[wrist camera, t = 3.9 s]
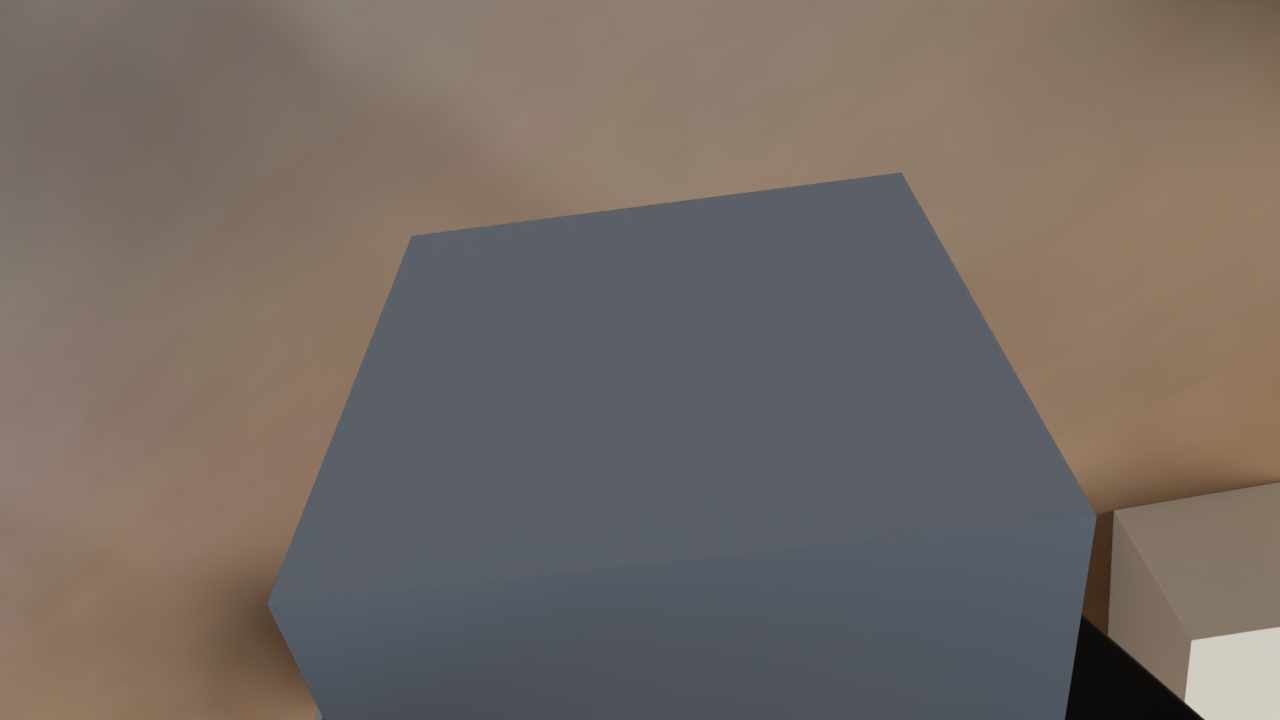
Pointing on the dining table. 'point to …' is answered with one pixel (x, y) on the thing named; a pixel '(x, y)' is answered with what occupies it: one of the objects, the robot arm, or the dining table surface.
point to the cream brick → (1203, 598)
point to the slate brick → (689, 480)
